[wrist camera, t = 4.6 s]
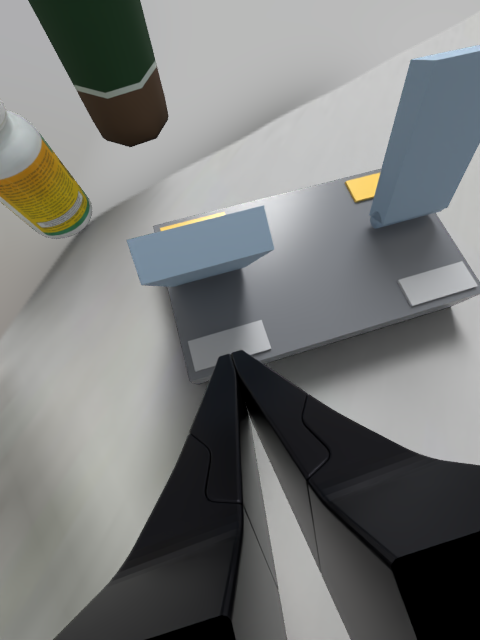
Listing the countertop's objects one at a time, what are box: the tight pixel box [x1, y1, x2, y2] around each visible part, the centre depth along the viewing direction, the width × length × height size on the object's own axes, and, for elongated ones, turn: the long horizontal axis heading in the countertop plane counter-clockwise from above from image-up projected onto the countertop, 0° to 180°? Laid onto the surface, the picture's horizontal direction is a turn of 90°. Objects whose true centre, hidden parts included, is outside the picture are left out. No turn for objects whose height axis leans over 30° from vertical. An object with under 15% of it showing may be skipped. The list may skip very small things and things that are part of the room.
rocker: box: [127, 205, 274, 287], centre depth 13 cm, size 2×5×9 cm, turn 107°
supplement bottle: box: [0, 99, 92, 239], centre depth 18 cm, size 5×5×10 cm
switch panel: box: [153, 169, 480, 384], centre depth 20 cm, size 12×21×3 cm, turn 107°
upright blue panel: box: [369, 45, 480, 229], centre depth 15 cm, size 2×5×9 cm, turn 107°
